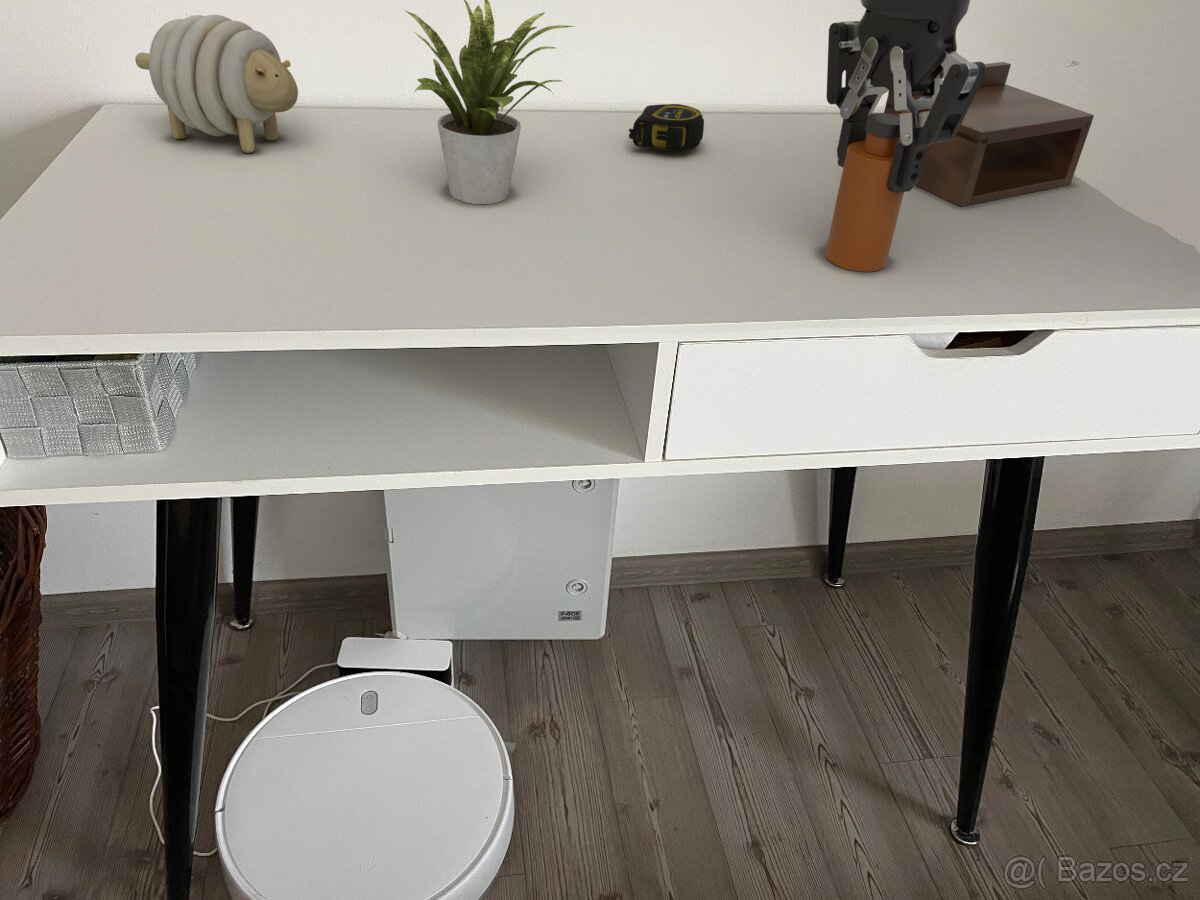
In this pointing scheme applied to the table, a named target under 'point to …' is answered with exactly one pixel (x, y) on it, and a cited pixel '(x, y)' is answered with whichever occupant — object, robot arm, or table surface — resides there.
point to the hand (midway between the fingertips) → (873, 177)
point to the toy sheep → (219, 77)
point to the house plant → (480, 106)
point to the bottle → (866, 199)
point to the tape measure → (668, 127)
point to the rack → (1004, 144)
